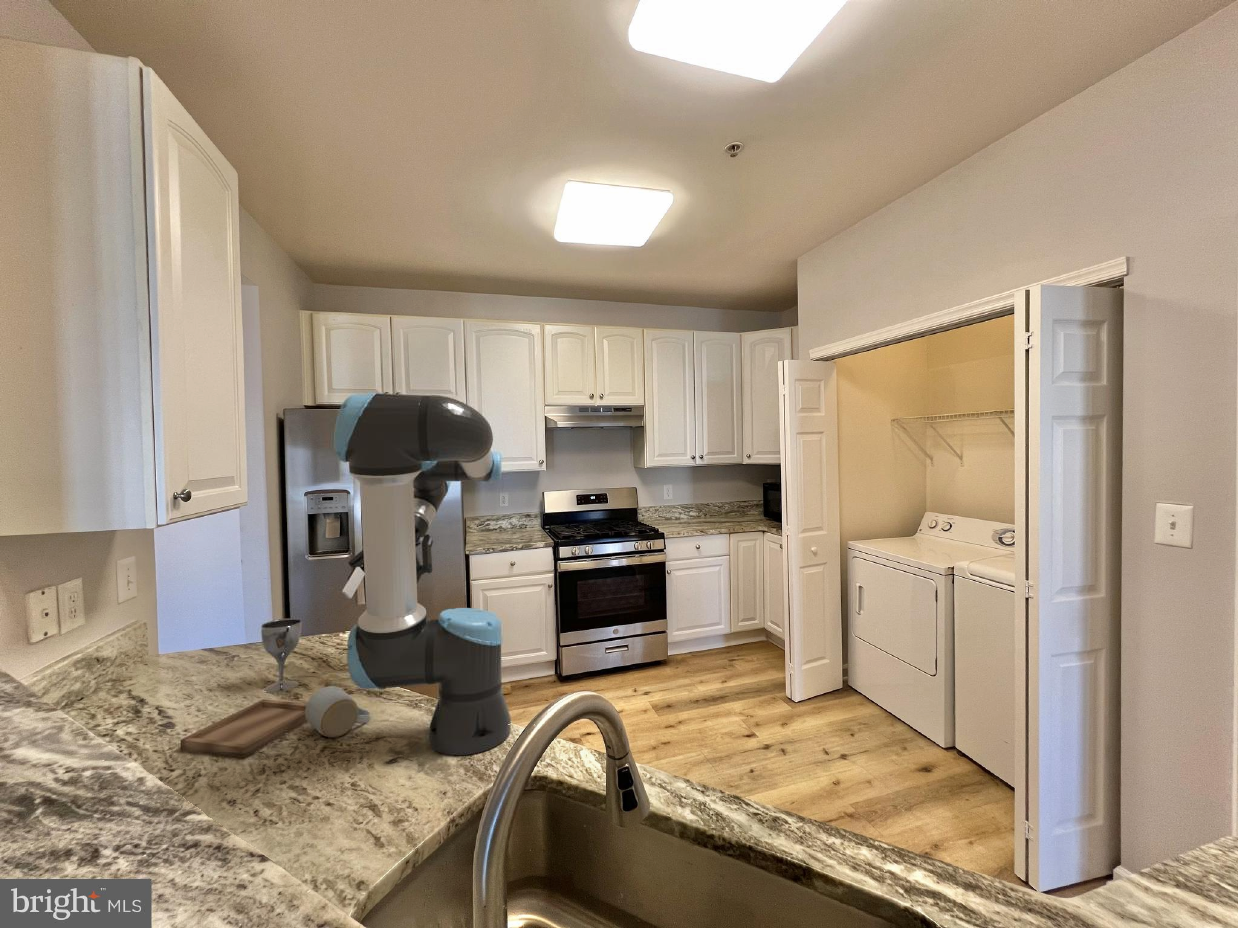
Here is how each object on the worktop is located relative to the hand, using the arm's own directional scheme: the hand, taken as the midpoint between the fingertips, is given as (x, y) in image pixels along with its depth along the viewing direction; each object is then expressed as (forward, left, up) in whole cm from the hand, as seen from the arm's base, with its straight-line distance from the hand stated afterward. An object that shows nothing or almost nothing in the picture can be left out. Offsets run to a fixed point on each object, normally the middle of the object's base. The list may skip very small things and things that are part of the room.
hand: (373, 596), depth 111 cm
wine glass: (+28, -4, -24) cm, 37 cm away
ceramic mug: (0, +10, -24) cm, 26 cm away
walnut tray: (+15, +15, -23) cm, 31 cm away
